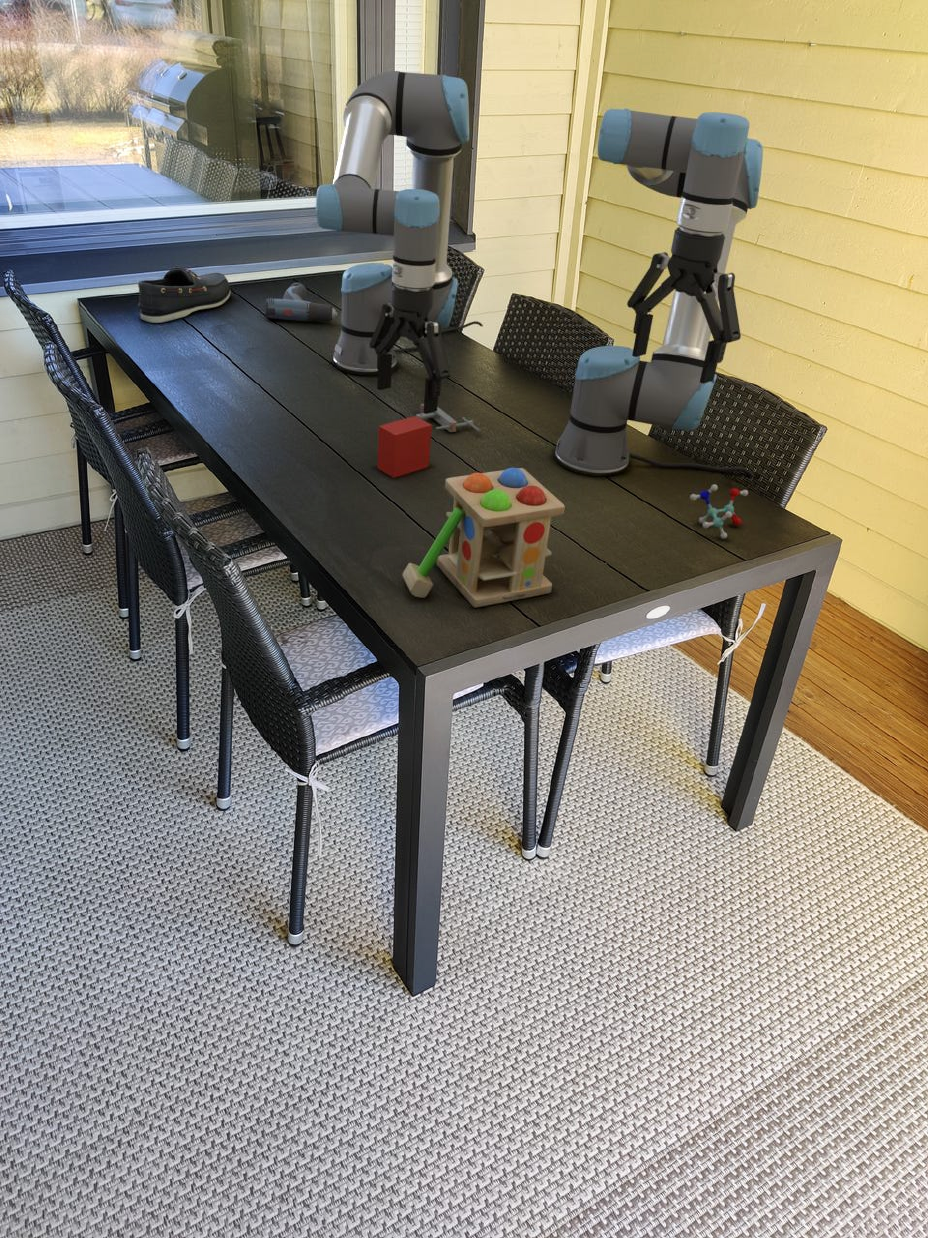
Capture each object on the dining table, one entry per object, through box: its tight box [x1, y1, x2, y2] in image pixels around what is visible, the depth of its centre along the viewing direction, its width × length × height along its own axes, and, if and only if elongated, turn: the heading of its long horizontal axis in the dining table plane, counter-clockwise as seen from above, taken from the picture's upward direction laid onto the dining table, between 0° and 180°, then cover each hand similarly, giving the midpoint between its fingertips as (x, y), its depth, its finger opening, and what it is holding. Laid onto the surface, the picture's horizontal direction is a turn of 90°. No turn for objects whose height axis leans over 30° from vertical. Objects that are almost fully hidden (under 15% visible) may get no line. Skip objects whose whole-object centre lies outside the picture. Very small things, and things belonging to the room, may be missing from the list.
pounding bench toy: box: [401, 467, 566, 608], centre depth 155 cm, size 23×14×18 cm, turn 116°
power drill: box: [264, 282, 338, 322], centre depth 265 cm, size 5×19×20 cm
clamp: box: [415, 403, 482, 434], centre depth 211 cm, size 15×2×10 cm
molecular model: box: [689, 483, 749, 540], centre depth 181 cm, size 12×10×10 cm
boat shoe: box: [137, 266, 232, 324], centre depth 260 cm, size 13×33×10 cm, turn 147°
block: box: [376, 415, 433, 479], centre depth 191 cm, size 5×9×9 cm, turn 133°
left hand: (406, 399), depth 185 cm, fingers open, 13 cm apart
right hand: (671, 368), depth 158 cm, fingers open, 13 cm apart
